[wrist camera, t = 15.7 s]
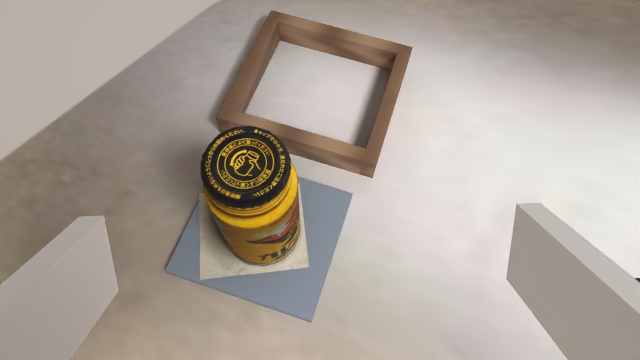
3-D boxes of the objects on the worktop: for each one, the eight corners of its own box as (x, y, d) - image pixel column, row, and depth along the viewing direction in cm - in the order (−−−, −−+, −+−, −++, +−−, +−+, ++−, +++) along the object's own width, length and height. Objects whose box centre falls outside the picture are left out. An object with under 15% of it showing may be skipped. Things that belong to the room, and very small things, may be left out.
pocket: (407, 64, 45) (412, 47, 43) (372, 178, 40) (376, 164, 37) (273, 28, 47) (271, 10, 45) (221, 132, 41) (216, 117, 39)
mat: (351, 196, 39) (352, 193, 38) (311, 322, 34) (311, 321, 34) (223, 157, 40) (221, 153, 40) (167, 272, 36) (164, 270, 35)
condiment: (309, 267, 35) (309, 210, 25) (200, 280, 35) (151, 227, 24) (299, 184, 39) (295, 100, 28) (199, 194, 38) (156, 113, 27)
